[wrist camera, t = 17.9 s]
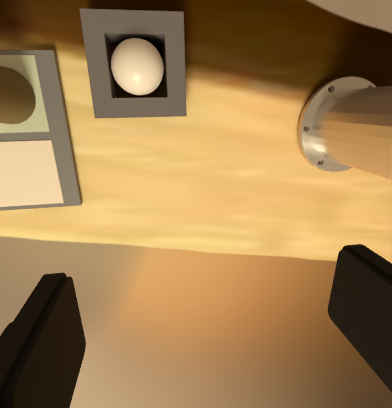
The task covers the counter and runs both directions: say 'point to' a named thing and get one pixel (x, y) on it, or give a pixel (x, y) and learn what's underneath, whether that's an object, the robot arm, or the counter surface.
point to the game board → (38, 140)
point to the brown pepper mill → (15, 97)
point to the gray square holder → (122, 30)
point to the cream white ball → (137, 66)
